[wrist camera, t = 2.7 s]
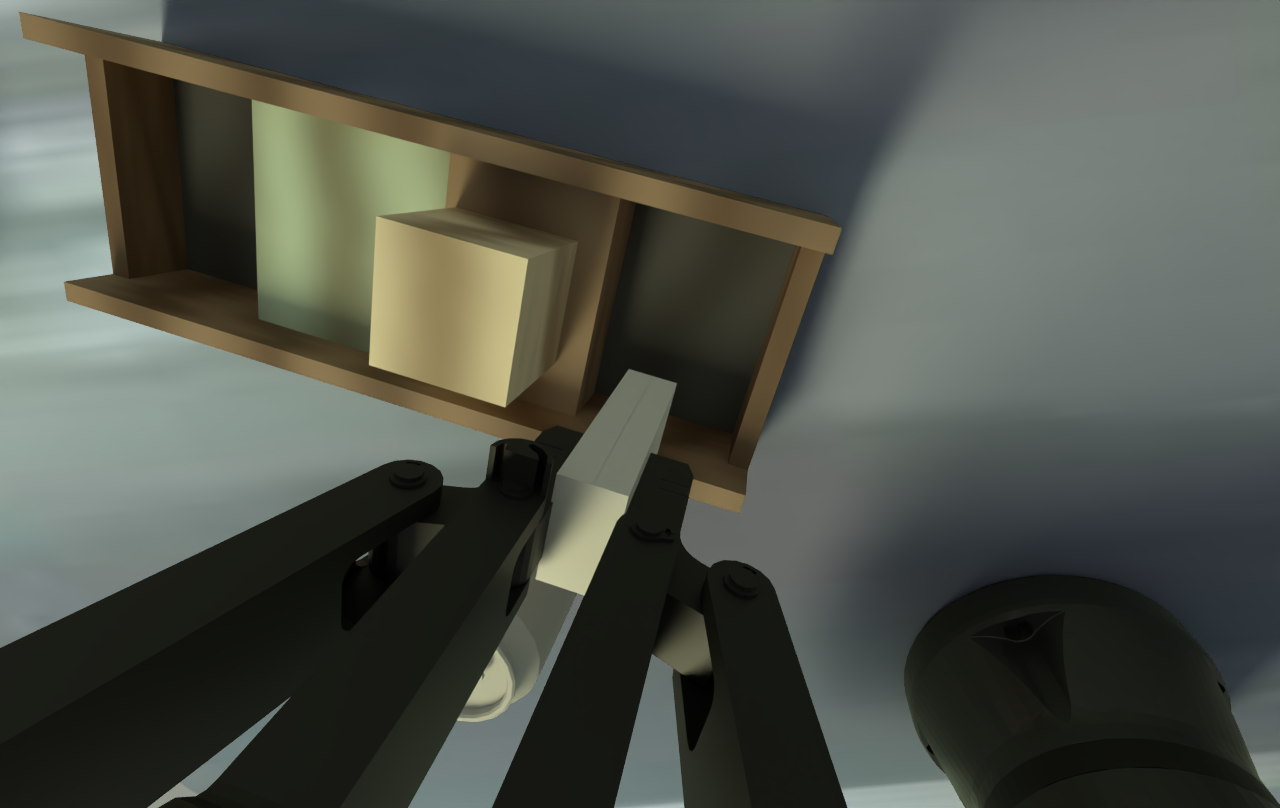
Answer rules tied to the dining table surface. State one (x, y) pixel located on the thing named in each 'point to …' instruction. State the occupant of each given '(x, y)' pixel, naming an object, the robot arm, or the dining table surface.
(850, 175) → the dining table surface
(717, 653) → the robot arm
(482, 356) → the maple block
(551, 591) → the can
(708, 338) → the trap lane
